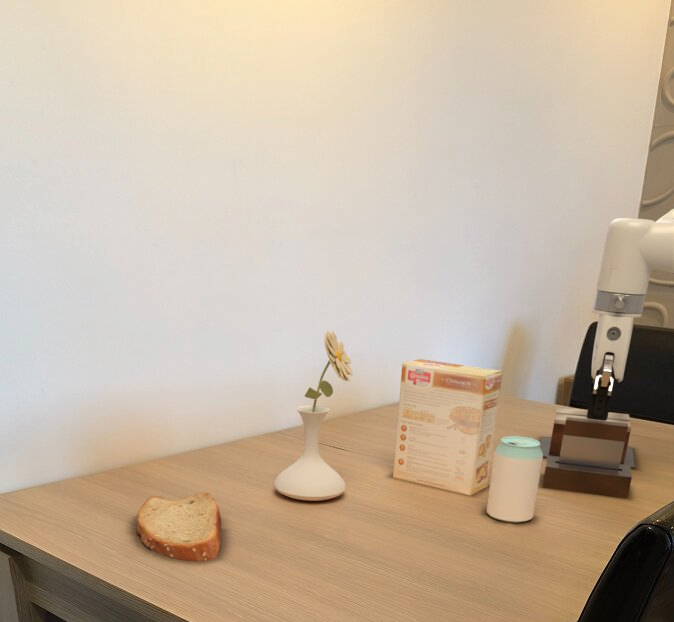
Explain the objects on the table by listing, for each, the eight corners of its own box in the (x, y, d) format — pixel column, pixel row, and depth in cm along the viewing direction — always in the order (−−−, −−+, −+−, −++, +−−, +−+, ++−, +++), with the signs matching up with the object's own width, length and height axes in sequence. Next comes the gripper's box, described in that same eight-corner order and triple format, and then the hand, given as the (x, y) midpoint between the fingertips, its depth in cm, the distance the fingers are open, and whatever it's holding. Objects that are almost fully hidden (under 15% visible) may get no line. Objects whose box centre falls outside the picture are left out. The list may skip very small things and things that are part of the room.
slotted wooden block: (625, 487, 144) (630, 465, 143) (627, 500, 138) (632, 477, 136) (544, 477, 148) (547, 455, 146) (541, 488, 141) (545, 466, 139)
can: (526, 528, 123) (539, 449, 118) (480, 519, 125) (491, 442, 120) (536, 515, 129) (549, 439, 123) (492, 506, 131) (503, 432, 126)
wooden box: (631, 449, 169) (639, 413, 165) (634, 470, 155) (643, 431, 152) (541, 439, 173) (547, 403, 170) (537, 458, 159) (543, 420, 156)
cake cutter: (614, 490, 143) (627, 423, 138) (614, 494, 141) (628, 426, 136) (555, 482, 145) (566, 416, 140) (554, 486, 143) (566, 419, 138)
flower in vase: (315, 512, 124) (322, 340, 114) (258, 494, 130) (261, 330, 120) (365, 493, 134) (376, 333, 123) (310, 477, 140) (317, 323, 129)
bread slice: (199, 567, 104) (199, 540, 102) (92, 536, 111) (90, 510, 109) (277, 527, 118) (278, 502, 116) (177, 501, 125) (176, 478, 124)
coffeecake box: (488, 487, 140) (504, 370, 132) (470, 497, 135) (485, 375, 126) (411, 469, 147) (421, 357, 139) (391, 478, 142) (400, 362, 134)
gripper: (646, 312, 121) (621, 427, 129) (640, 302, 137) (618, 406, 144) (593, 307, 123) (572, 421, 130) (593, 298, 138) (574, 400, 146)
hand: (596, 413), depth 137 cm, fingers open, 9 cm apart
